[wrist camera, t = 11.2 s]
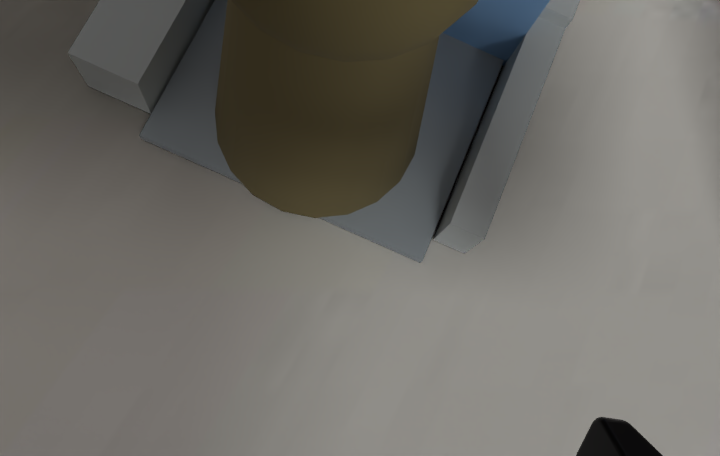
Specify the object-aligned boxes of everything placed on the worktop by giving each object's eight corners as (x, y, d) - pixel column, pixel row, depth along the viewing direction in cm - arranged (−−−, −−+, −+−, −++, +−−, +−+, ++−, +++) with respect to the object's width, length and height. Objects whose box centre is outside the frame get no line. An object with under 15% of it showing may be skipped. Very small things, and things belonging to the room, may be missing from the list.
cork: (289, 258, 19) (307, 87, 8) (174, 87, 20) (55, -273, 9) (459, 149, 20) (662, -118, 10) (345, -7, 21) (418, -414, 10)
